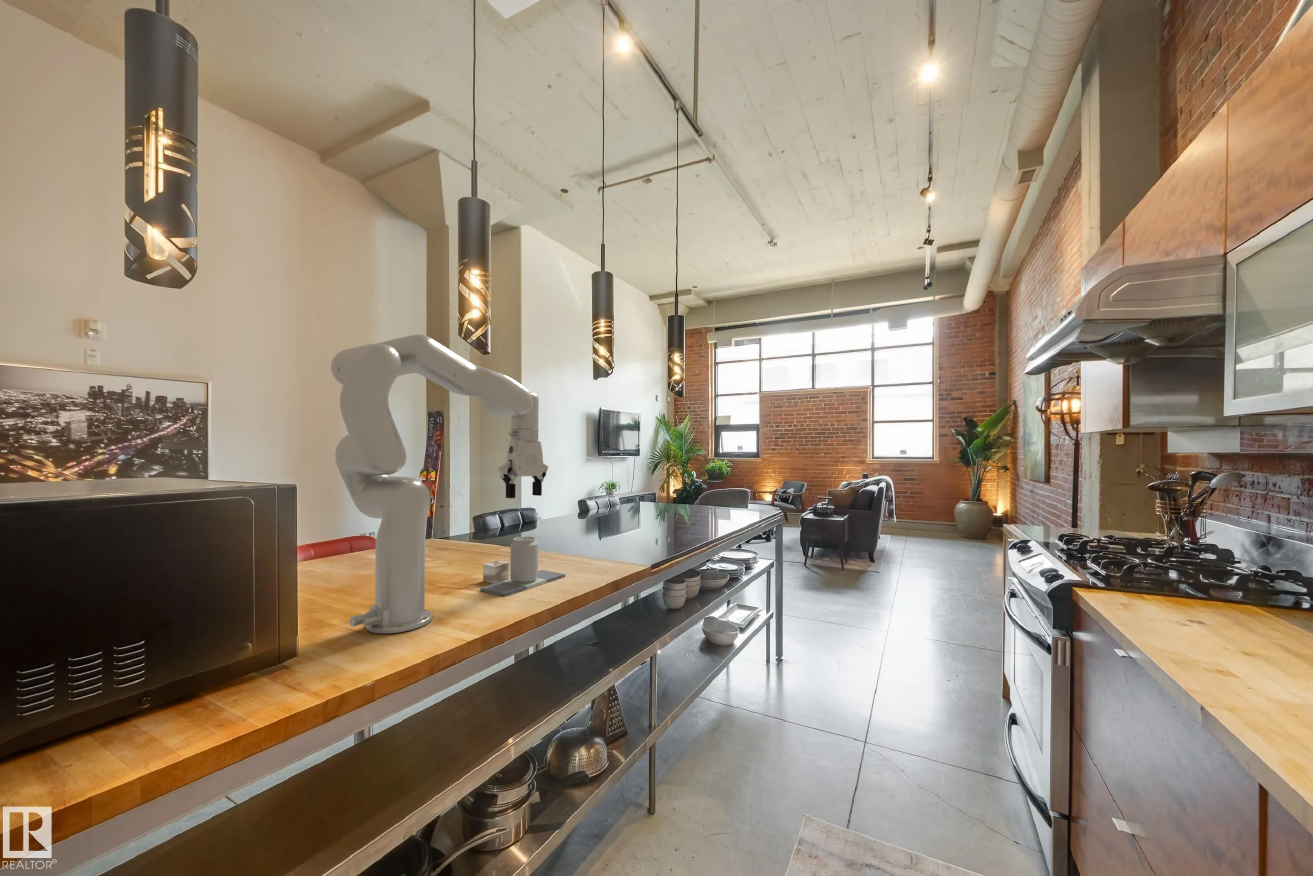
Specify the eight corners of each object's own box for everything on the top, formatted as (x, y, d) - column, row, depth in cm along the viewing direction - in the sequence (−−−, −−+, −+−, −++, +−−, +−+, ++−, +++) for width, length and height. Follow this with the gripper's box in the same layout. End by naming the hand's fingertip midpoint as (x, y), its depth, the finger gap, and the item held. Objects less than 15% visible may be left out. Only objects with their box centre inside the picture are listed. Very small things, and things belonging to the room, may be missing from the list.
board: (504, 596, 123) (504, 593, 123) (480, 590, 128) (480, 587, 128) (565, 576, 142) (565, 574, 142) (542, 572, 147) (542, 569, 147)
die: (494, 584, 135) (494, 566, 135) (483, 581, 137) (483, 563, 138) (508, 580, 139) (508, 562, 139) (497, 577, 142) (497, 560, 142)
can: (533, 584, 131) (533, 540, 131) (506, 584, 131) (506, 540, 131) (541, 577, 138) (541, 535, 139) (515, 577, 139) (515, 535, 139)
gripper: (509, 434, 127) (508, 500, 126) (556, 436, 141) (555, 495, 141) (490, 435, 131) (490, 498, 130) (538, 437, 145) (537, 493, 145)
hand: (524, 496), depth 136 cm, fingers open, 9 cm apart
